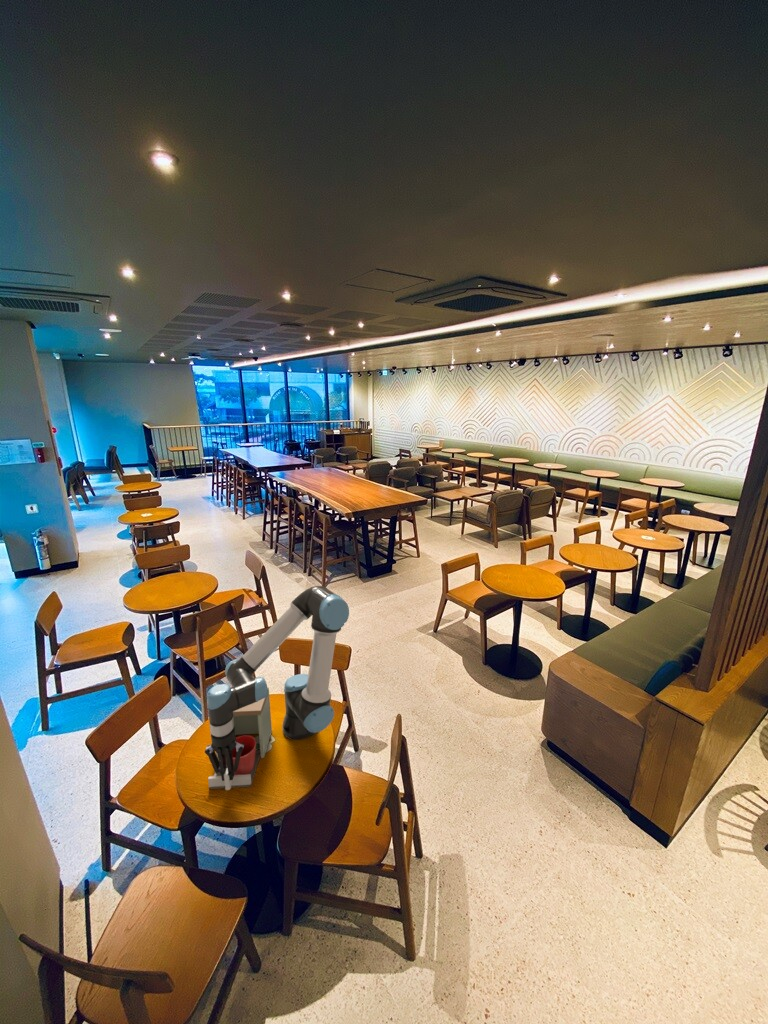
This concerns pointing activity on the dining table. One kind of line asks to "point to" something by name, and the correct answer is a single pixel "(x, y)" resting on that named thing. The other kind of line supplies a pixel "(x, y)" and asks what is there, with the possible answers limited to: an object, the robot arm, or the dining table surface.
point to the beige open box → (255, 721)
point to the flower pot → (245, 754)
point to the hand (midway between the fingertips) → (229, 786)
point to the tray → (235, 777)
